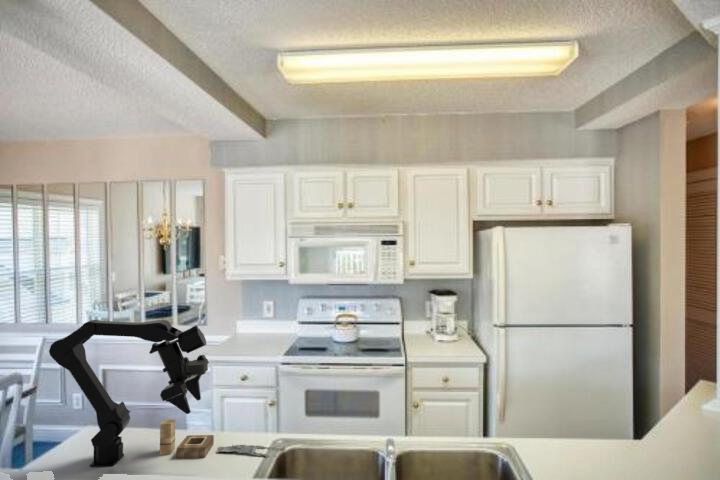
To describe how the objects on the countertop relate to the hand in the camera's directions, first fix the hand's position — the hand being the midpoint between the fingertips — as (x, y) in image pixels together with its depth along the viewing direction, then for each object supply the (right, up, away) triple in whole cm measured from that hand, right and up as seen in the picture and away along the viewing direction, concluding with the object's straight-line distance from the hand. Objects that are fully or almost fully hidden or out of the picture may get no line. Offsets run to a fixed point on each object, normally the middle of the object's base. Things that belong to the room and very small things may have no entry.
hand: (194, 406), depth 125 cm
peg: (-8, -14, 0) cm, 16 cm away
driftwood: (+17, -15, +1) cm, 22 cm away
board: (0, -14, +1) cm, 14 cm away
